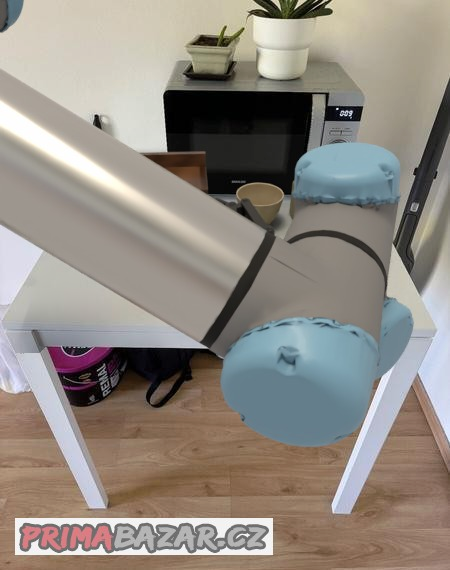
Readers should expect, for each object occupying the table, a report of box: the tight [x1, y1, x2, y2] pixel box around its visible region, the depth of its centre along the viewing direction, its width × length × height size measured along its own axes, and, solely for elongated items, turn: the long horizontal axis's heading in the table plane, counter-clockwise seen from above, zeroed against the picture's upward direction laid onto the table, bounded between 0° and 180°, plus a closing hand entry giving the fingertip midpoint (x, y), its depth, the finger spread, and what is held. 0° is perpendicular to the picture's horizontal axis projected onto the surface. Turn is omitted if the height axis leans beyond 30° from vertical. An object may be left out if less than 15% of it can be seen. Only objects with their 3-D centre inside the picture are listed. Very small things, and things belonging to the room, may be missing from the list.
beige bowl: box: [235, 182, 285, 225], centre depth 95 cm, size 10×10×7 cm
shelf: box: [139, 150, 209, 195], centre depth 96 cm, size 22×12×12 cm, turn 94°
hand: (156, 217), depth 61 cm, fingers open, 13 cm apart
